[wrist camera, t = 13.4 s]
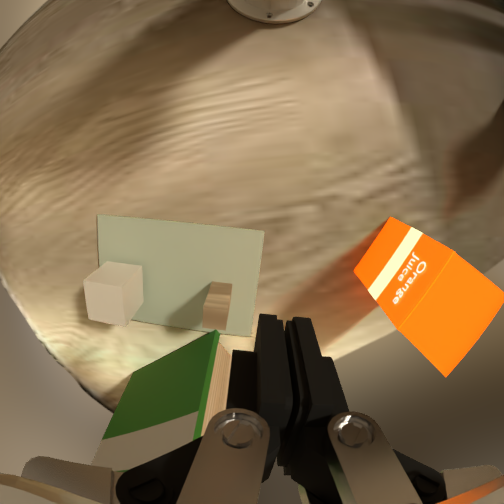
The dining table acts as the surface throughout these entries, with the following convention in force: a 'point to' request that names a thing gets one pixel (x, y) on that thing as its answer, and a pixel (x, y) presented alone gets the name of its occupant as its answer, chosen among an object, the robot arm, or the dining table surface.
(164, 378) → the hardback book
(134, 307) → the beige foam cube
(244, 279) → the mat
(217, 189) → the dining table surface
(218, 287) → the post
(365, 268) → the orange juice
